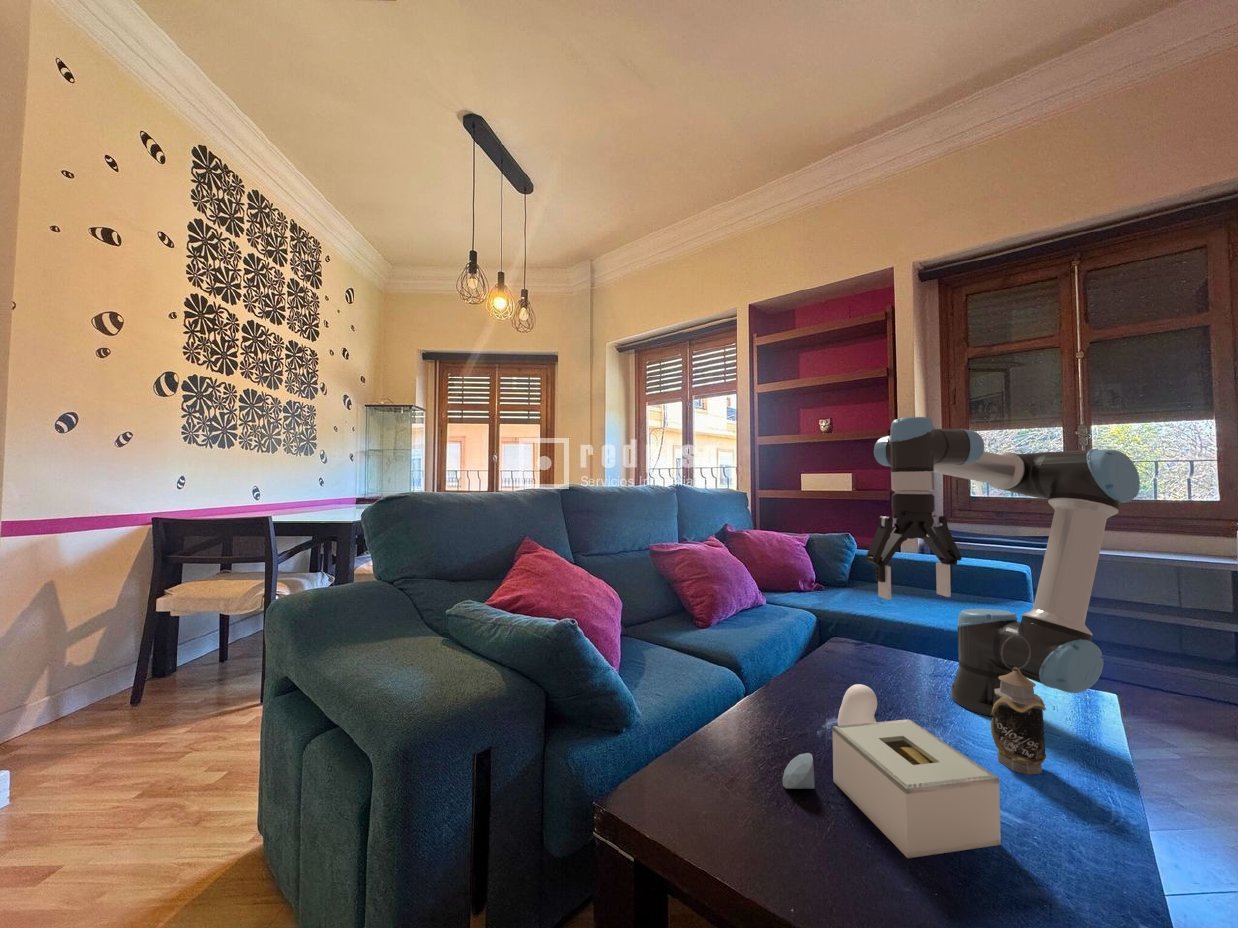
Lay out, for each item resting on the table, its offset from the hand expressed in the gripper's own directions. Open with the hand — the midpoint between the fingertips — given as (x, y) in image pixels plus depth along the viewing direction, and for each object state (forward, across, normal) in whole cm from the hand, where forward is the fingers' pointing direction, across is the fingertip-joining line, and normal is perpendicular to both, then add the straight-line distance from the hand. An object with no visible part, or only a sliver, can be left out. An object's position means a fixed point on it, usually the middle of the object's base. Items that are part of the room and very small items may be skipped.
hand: (914, 596), depth 97 cm
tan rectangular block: (+30, +14, +14) cm, 36 cm away
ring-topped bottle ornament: (+32, -17, +6) cm, 37 cm away
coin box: (+32, +14, +14) cm, 37 cm away
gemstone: (+32, +29, +5) cm, 43 cm away
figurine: (+32, +9, -6) cm, 34 cm away
